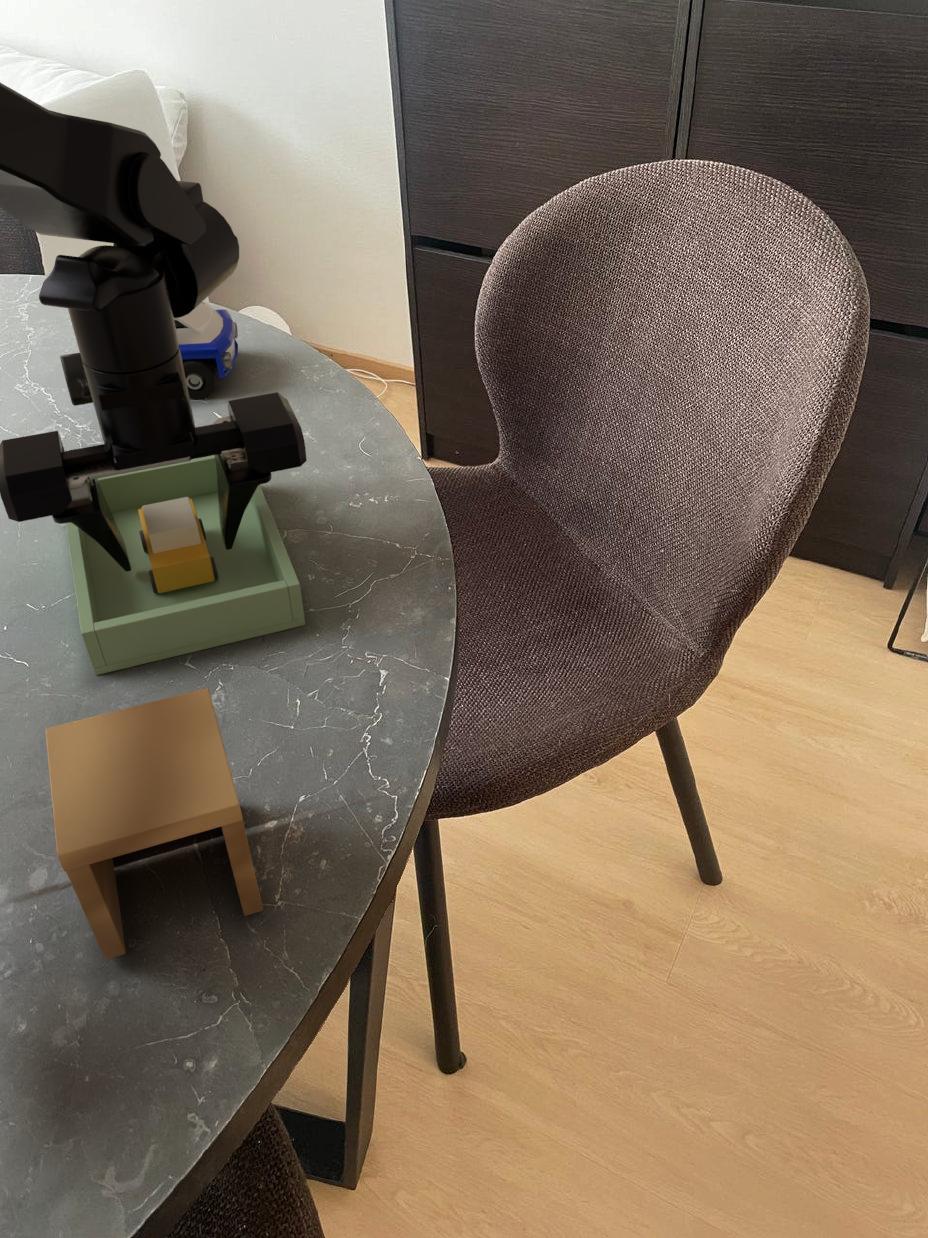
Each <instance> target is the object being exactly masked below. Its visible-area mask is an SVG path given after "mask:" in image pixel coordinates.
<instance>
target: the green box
mask: <svg viewBox="0 0 928 1238" xmlns="http://www.w3.org/2000/svg"><path fill="white" fill-rule="evenodd" d="M98 481H99V484H100V487H101V489H102V492H103V495H104V497H105V499H106V502H107V504H108V506H109V508H110V511H111V513H112V515H113V518H114V520H115V522H116V524H117V527H118V529H119V531H120V534H121V536H122V538H123V540H124V543H125V546H126V549H127V553H128V557H129V561H130V565H131V571H127V572H126V571H125V570H124V569H123V568H122V567H121V566H120V565H119V564H118V563H117V562H116V561H115V560H114V559H113V558H112V557H111V556H110V555H109V554H108V553H107V551H106V550H105V549H104V548H103V547H102V546H101V545H100V544H99V543H98V542H96V541H95V540H94V539H93V538H91V537H90V536H89V535H87V534H86V533H85V532H83V531H82V530H81V529H79V528H78V527H77V526H75V525H74V524H73V523H65V529H66V537H67V544H68V550H69V556H70V557H69V558H70V564H71V565H70V566H71V571H72V572H71V573H72V578H73V585H74V591H75V597H76V598H75V599H76V604H77V606H76V607H77V613H78V621H79V627H80V634H81V637H82V641H83V643H84V646H85V649H86V652H87V655H88V658H89V661H90V664H91V667H92V670H93V673H94V676H99V675H103V674H107V673H111V672H116V671H119V670H124V669H128V668H132V667H136V666H141V665H145V664H149V663H153V662H157V661H161V660H165V659H170V658H174V657H178V656H182V655H186V654H187V655H188V654H190V653H195V652H198V651H204V650H206V649H211V648H215V647H219V646H224V645H227V644H232V643H237V642H240V641H244V640H248V639H249V640H250V639H253V638H257V637H261V636H265V635H270V634H274V633H279V632H282V631H286V630H290V629H291V630H292V629H295V628H299V627H303V626H305V625H306V620H305V612H304V605H303V597H302V590H301V583H300V581H299V578H298V576H297V574H296V571H295V569H294V566H293V563H292V561H291V559H290V556H289V554H288V551H287V548H286V546H285V543H284V541H283V539H282V536H281V533H280V531H279V529H278V526H277V523H276V522H275V519H274V516H273V513H272V511H271V509H270V507H269V504H268V501H267V499H266V496H265V494H264V492H263V489H262V486H261V484H260V485H259V486H258V487H257V489H256V491H255V492H254V494H253V496H252V498H251V500H250V502H249V504H248V506H247V508H246V510H245V512H244V514H243V517H242V520H241V523H240V526H239V529H238V532H237V535H236V538H235V541H234V544H233V547H232V549H229V550H226V548H225V545H224V542H223V537H222V532H221V527H220V519H219V501H218V484H217V470H216V463H215V456H214V455H212V456H207V457H202V458H196V459H192V460H190V461H187V462H182V463H177V464H172V465H166V466H161V467H156V468H150V469H145V470H140V471H135V472H129V473H124V474H119V475H113V476H108V477H103V478H98ZM184 497H189V499H192V500H193V504H194V507H195V510H196V513H197V517H198V519H201V520H202V523H203V527H204V531H205V535H206V540H205V542H206V546H207V549H208V552H209V555H210V557H213V558H214V561H215V565H216V569H217V573H218V579H217V580H215V581H213V582H208V583H204V584H199V585H195V586H190V587H186V588H181V589H177V590H172V591H168V592H163V593H154V592H153V589H152V585H151V581H150V577H149V573H148V571H149V570H152V566H151V562H150V558H149V554H148V552H147V553H145V552H144V550H143V546H142V542H141V538H140V534H139V531H141V530H143V528H142V524H141V520H140V516H139V512H138V509H142V506H144V505H149V504H154V503H159V502H164V501H169V500H174V499H179V498H184Z"/></svg>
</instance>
